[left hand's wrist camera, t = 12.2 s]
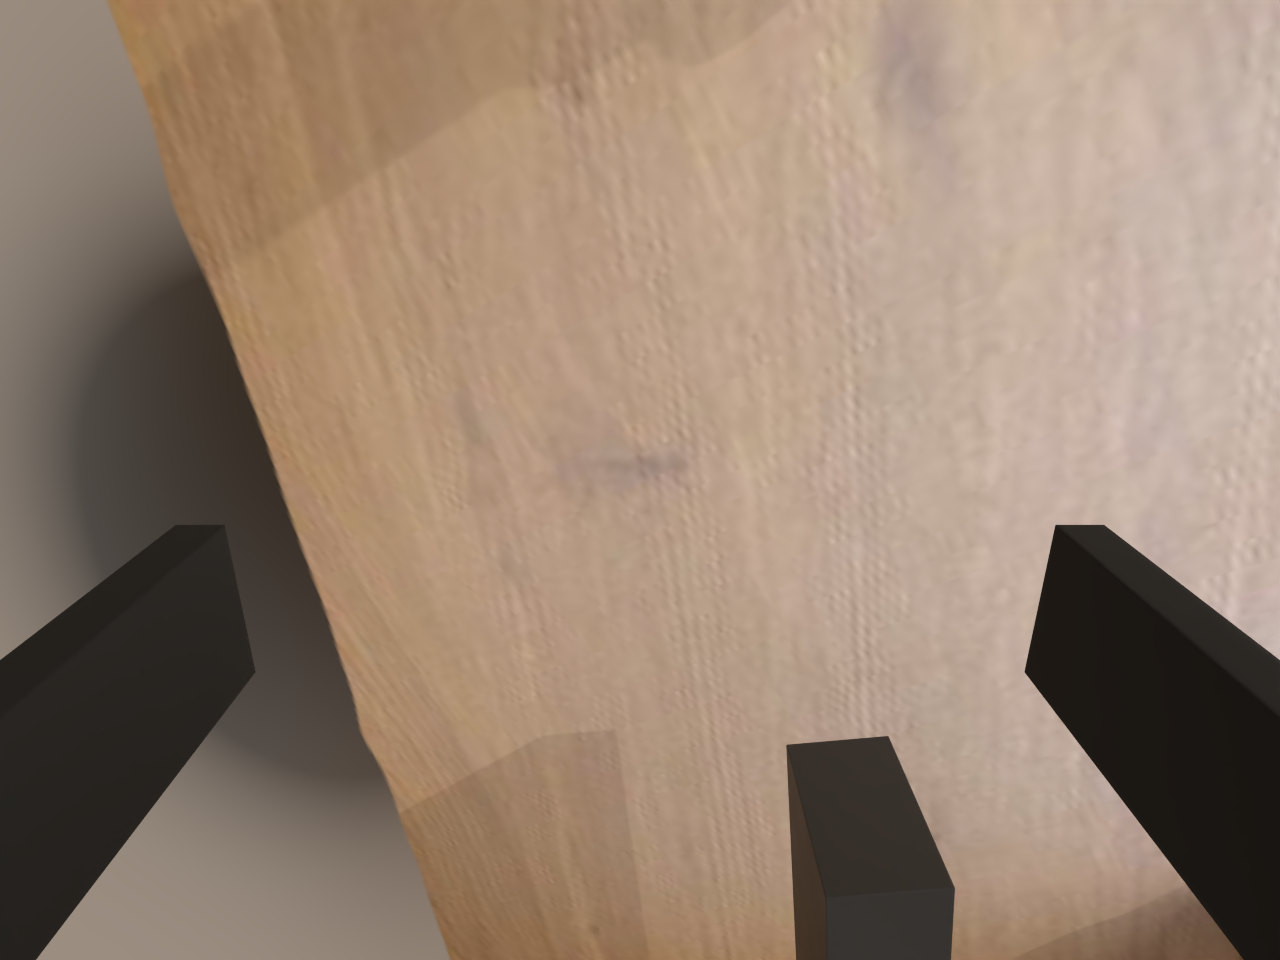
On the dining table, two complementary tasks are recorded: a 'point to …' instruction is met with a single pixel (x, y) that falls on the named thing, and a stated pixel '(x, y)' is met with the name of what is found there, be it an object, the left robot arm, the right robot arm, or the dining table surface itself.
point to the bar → (863, 857)
